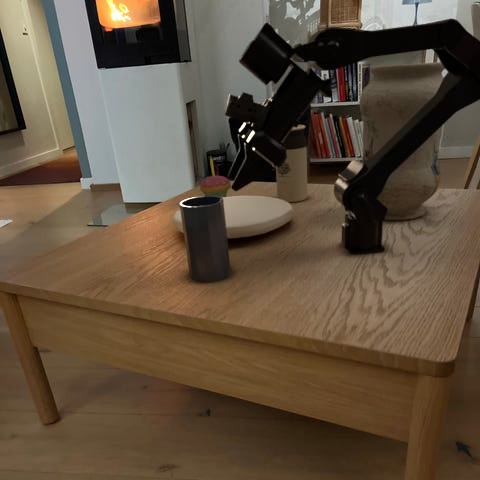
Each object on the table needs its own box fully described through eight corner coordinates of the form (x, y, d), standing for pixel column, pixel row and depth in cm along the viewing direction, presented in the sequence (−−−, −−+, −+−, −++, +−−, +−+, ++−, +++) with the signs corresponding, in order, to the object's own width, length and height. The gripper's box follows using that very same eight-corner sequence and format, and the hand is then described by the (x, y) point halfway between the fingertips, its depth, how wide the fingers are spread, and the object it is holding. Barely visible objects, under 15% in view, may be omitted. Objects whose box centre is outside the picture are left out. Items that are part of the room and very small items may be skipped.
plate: (193, 193, 120) (298, 190, 115) (195, 219, 123) (298, 217, 117) (152, 212, 95) (284, 209, 89) (156, 244, 98) (285, 243, 92)
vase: (424, 200, 115) (437, 59, 101) (451, 220, 99) (472, 57, 85) (349, 205, 116) (352, 67, 102) (364, 227, 100) (370, 67, 86)
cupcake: (198, 201, 133) (193, 156, 128) (227, 196, 135) (223, 152, 130) (206, 208, 126) (200, 161, 120) (236, 203, 128) (232, 156, 122)
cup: (229, 264, 88) (222, 194, 82) (231, 279, 81) (224, 204, 75) (190, 268, 87) (180, 198, 81) (189, 284, 81) (178, 209, 75)
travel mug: (294, 193, 131) (292, 124, 123) (313, 198, 125) (312, 125, 117) (271, 199, 128) (267, 128, 119) (290, 204, 122) (287, 129, 113)
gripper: (243, 71, 83) (193, 147, 88) (255, 70, 66) (192, 164, 71) (292, 112, 87) (241, 183, 92) (314, 121, 70) (251, 207, 75)
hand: (231, 184), depth 82 cm, fingers open, 9 cm apart
